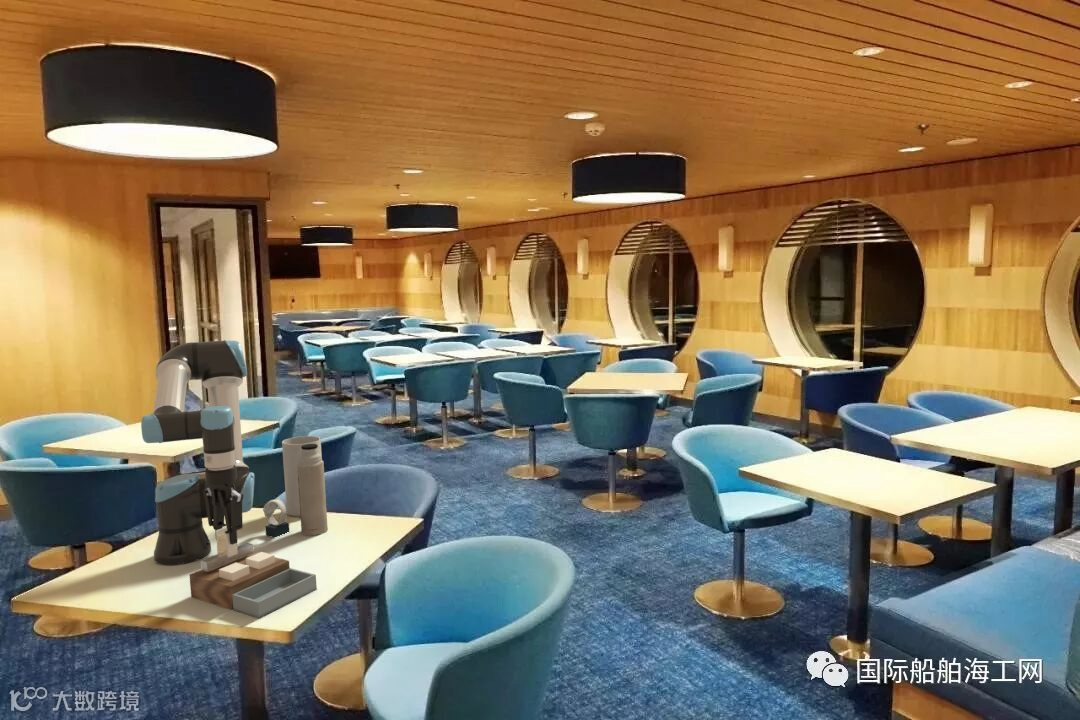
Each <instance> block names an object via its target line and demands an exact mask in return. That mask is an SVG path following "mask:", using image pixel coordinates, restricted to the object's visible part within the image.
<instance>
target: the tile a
mask: <svg viewBox="0 0 1080 720" xmlns="http://www.w3.org/2000/svg"><path fill="white" fill-rule="evenodd" d="M247 574H250V572H249V566H247V565H243V564H240V563H234V564H231V565H229V566H226V567H224V568H222V569H219V575H220V577H221V578H224V579H228V580H231V581H234V580H236V579H238V578H241V577H243V576H245V575H247Z"/></svg>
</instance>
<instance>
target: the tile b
mask: <svg viewBox="0 0 1080 720" xmlns="http://www.w3.org/2000/svg"><path fill="white" fill-rule="evenodd" d="M257 553H258V554H255V555H253V556H250V557H248V558H246V565H247V566H249V567H253V568H256V569H261V568H263V567H266V566H268V565H270V564H272V563H275V557H276V556H275V554H271V553H268V552H263V551H260V552H257Z"/></svg>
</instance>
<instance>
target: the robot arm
mask: <svg viewBox="0 0 1080 720" xmlns="http://www.w3.org/2000/svg"><path fill="white" fill-rule="evenodd" d="M247 376H248V370H247V365H246V360H245V355H244V351H243V346H242V344H241V342H239V341H238V340H225V339H223V340H216V341H215V340H210V341H198V342H185V343H181V344H179V345H176V346H175V347H173V348H171V349H170V350H168V351H167V352H165V354H163V356H162V357H161V358H160V360H159V361H158V362H157V364H156V367H155V378H156V380H157V384H156V391H155V392H156V393H155V398H154V403H153V404H154V405H153V410H152V413H151V414H145V415H143V416H142V417H141V420H140V421H141V422H140V427H141V436H142V440H143V441H144V443H146V444H162V443H171V442H179V441H190V440H191V441H192V440H201V439H202V447H203V448H202V449H203V450H202V451H203V459H204V461H203V462H204V467H205V468H206V469H205V470H204V475H205V477H203V478H202V477H201V478H200V476H199V474H198V473H185V474H178V475H175V476H172V477H169V478H166V479H164V480H161V482H159V483H158V484H157V485H156V487H155V489H154V490H155V491H154V493H155V499H154V502H155V505H156V517H157V527H158V528H157V529H158V534H157V535H158V537H157V539H156V544H155V548H154V550H153V559H154V562H155V563H156V564H158V565H165V566H173V565H175V566H176V565H183V564H188V563H191V562H195V561H199V560H202V559H203V558H205V557H208V555H210V554H211V552H212V543H211V541H210V539H209V536H208V534H207V532H206V530H205V528H204V526H203V525H204V524H203V519H207V522H208V526H209V527H213V530H214V531H215V533H214V534H215V541H216V548H217V549H216V550H217V554H219V549H218V536H221V535H223V534H225V538H226V551H227V557H231V556H233V555H236V554H238V551H237V546H238V531H240V530H242V529H243V527H244V526H243V513H248V512H250V511H251V510H252V508H253V503H254V491H255V473H254V472H251V471H250V467H249V466H248V465H247V464H246V463H245V462H244V456H243V442H242V441H243V440H242V427H241V425H242V424H241V414H240V413H241V412H240V411H241V410H240V397H239V387H241V385H242V384H243V382H244V379H243V378H245V377H247ZM195 380H196V381H199V380H201V381H202V382H201V383H202V386H203V387H204V388H205V389H207V393H208V395H207V396H208V397H207V398H208V407H205V408H203V409H201V410H189V411H185V408H186V407H185V405H186V393H187V386H188V385H187V384H188V383H189V382H190V381H195Z"/></svg>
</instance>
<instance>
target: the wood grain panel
mask: <svg viewBox="0 0 1080 720" xmlns="http://www.w3.org/2000/svg"><path fill="white" fill-rule="evenodd" d="M258 553H259V552H255V551H254V553H253V554H250V555H248V556H246V557H243V558H241V559H238V560H236V561H233V562H231V563H228V564H226V565H224V566H221V567H219V568H216V569H214V570H211V571H209V572H206V571H202V570H201V569H200V570H197V571H195V572H192V573H191V574H189V587H190V597H191V598H193V599H197V600H199V601H202V602H206V603H208V604H212V605H216V606H218V607H222V608H225V609H229V610H231V611H234V610H233V599H232V595H233V594H235V593H237V592H239V591H241V590H244V589H246V588H248V587H250V586H252V585H255V584H257V583H259V582H261V581H263V580H266V579H268V578H270V577H272V576H274V575H276V574H279V573H281V572H283V571H285V570H287V569H290V568H291V567H290V560H288V559H284V558H280V557H276V556H275V563H272V564H270V565H268V566H266V567H263V568H261V569H256V568H253V567H249V572H250V574H247V575H245V576H243V577H241V578H238V579H236V580H234V581H231V580H228V579H224V578H221V577H220V575H219V569H222V568H224V567H226V566H229V565H231V564H234V563H240V564H243V565H246V558H248V557H250V556H253V555H255V554H258Z"/></svg>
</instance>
